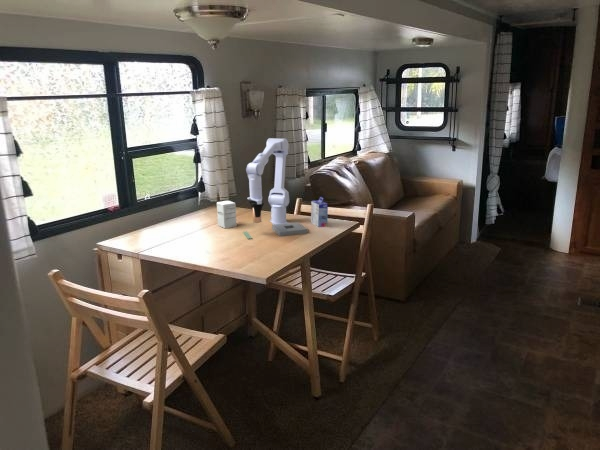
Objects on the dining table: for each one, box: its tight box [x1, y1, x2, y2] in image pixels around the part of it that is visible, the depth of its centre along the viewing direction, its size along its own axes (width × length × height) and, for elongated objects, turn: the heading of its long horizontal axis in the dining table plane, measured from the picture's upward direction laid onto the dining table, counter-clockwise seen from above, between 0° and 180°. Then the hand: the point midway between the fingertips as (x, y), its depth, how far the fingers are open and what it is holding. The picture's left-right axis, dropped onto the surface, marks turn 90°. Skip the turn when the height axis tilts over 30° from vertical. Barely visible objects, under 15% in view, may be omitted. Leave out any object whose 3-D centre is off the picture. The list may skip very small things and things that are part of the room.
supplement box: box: [216, 200, 237, 229], centre depth 253 cm, size 7×7×13 cm
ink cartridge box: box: [310, 196, 329, 228], centre depth 251 cm, size 10×6×14 cm, turn 22°
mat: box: [242, 230, 253, 240], centre depth 238 cm, size 12×12×1 cm
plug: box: [252, 208, 262, 224], centre depth 236 cm, size 4×4×7 cm
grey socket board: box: [271, 221, 309, 237], centre depth 242 cm, size 14×14×2 cm
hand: (256, 215), depth 236 cm, fingers closed on plug, 4 cm apart
